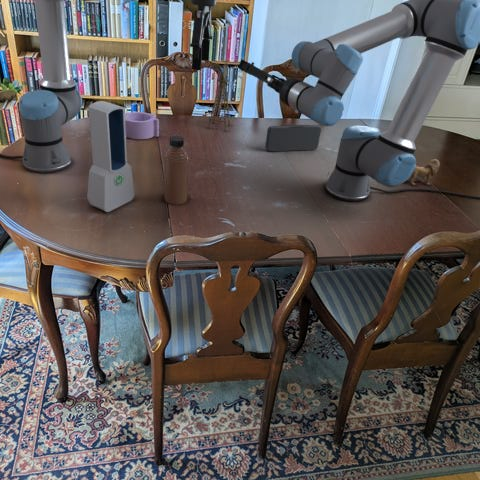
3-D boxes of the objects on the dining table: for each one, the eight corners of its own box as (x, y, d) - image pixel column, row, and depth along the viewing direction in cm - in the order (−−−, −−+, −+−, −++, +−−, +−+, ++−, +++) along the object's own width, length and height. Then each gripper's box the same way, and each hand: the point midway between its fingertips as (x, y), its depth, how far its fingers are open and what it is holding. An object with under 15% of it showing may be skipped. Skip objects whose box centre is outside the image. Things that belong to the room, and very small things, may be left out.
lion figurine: (428, 178, 179) (435, 156, 174) (437, 184, 175) (445, 162, 170) (396, 181, 174) (403, 158, 169) (405, 187, 170) (412, 164, 165)
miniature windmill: (225, 131, 202) (231, 58, 186) (207, 128, 203) (211, 56, 187) (230, 124, 210) (236, 54, 194) (212, 121, 211) (216, 51, 195)
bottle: (165, 192, 150) (165, 134, 139) (187, 194, 150) (190, 136, 140) (162, 203, 144) (162, 143, 133) (186, 205, 144) (188, 145, 134)
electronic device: (105, 214, 135) (97, 112, 119) (87, 205, 138) (77, 105, 122) (135, 199, 144) (132, 102, 128) (117, 191, 147) (112, 96, 131)
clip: (108, 140, 182) (107, 123, 178) (105, 128, 191) (104, 112, 188) (160, 138, 188) (160, 121, 184) (154, 127, 198) (154, 111, 194)
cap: (170, 141, 139) (170, 135, 138) (184, 142, 139) (184, 136, 138) (168, 146, 136) (168, 140, 134) (183, 147, 136) (183, 141, 135)
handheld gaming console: (315, 147, 196) (319, 124, 190) (317, 149, 194) (322, 126, 188) (264, 149, 189) (267, 125, 183) (266, 152, 187) (269, 127, 181)
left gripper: (209, -5, 127) (205, 75, 138) (223, -12, 148) (218, 58, 159) (181, -8, 127) (180, 72, 139) (199, -15, 148) (197, 55, 160)
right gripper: (259, 90, 120) (220, 68, 135) (318, 122, 137) (278, 99, 151) (273, 63, 118) (232, 43, 133) (332, 98, 135) (289, 77, 149)
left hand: (200, 65), depth 149 cm, fingers open, 13 cm apart
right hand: (256, 73), depth 142 cm, fingers open, 13 cm apart
